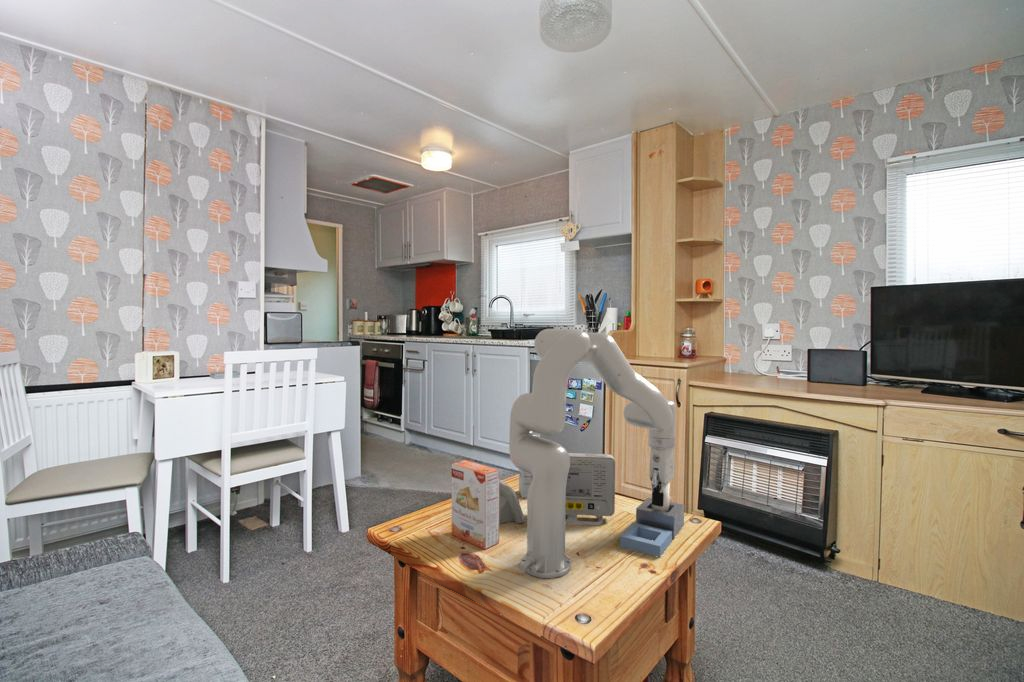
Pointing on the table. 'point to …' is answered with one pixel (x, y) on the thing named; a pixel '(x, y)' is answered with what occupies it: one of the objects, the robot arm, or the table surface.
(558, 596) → the table surface
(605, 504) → the network device
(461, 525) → the cracker box
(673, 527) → the upper socket
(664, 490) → the plug
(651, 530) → the lower socket
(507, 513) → the digital clock
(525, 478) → the supplement box
